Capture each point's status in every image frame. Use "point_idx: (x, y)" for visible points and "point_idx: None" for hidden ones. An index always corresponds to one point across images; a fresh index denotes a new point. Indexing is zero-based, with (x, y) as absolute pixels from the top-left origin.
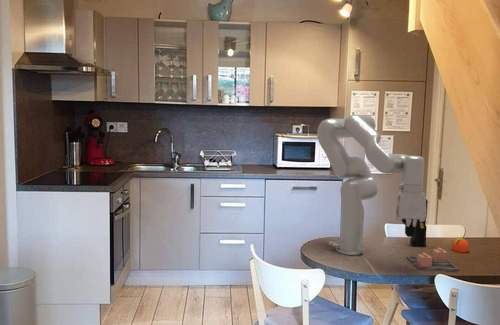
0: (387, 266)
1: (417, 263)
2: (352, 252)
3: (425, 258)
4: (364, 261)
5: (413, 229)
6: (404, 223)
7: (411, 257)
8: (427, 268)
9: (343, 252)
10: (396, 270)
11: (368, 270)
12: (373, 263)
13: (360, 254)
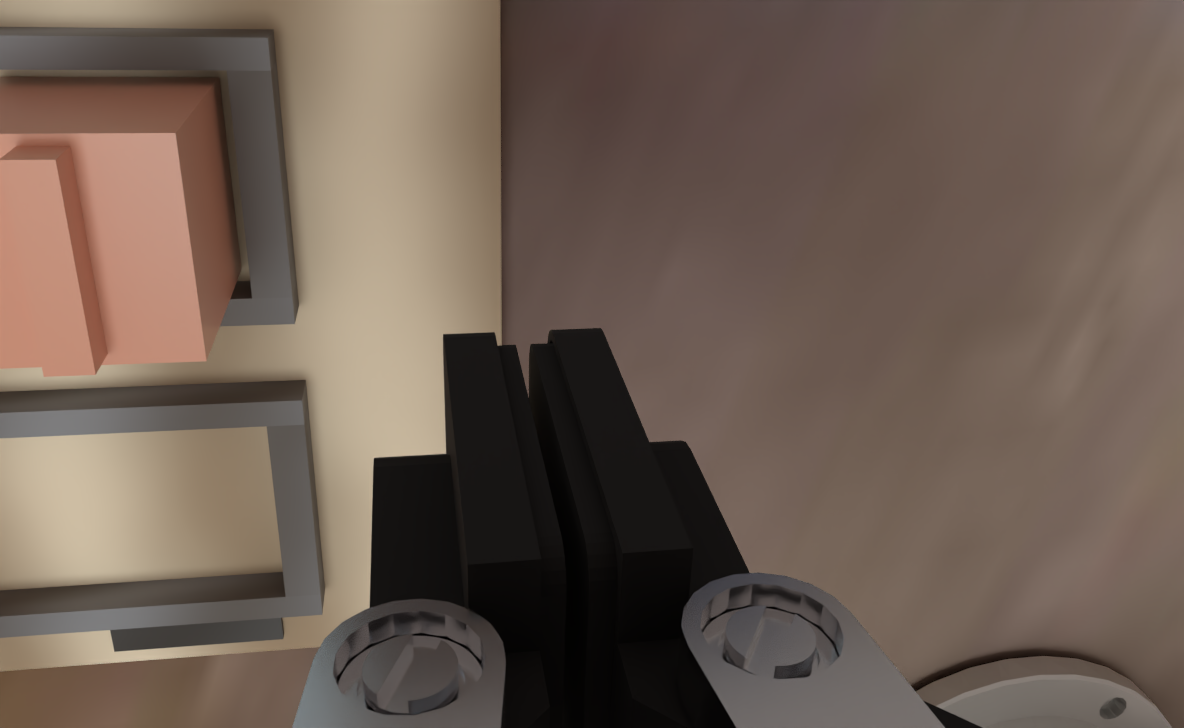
0: (719, 298)
1: (232, 270)
2: (1050, 693)
3: (82, 129)
4: (976, 464)
5: (415, 556)
6: (959, 721)
7: (247, 591)
8: (86, 34)
9: (1143, 696)
10: (642, 123)
11: (1104, 75)
12: (882, 401)
13: (931, 687)
